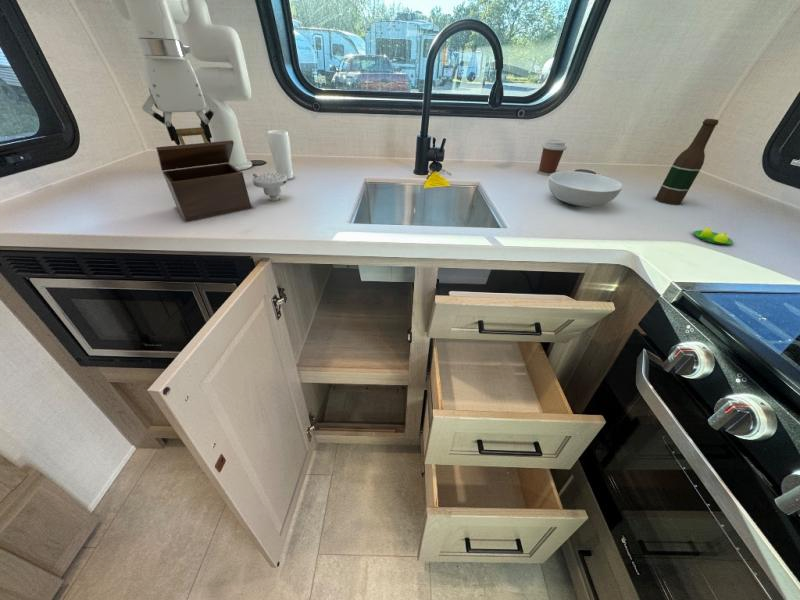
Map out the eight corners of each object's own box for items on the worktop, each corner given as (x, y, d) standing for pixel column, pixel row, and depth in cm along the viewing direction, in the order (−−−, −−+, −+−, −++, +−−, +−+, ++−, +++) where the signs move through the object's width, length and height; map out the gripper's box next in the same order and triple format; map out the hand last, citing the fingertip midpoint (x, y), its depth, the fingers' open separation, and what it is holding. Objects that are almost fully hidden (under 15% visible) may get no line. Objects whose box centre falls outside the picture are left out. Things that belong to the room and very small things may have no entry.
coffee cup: (562, 174, 129) (573, 142, 122) (549, 177, 125) (559, 144, 118) (543, 169, 135) (552, 138, 128) (530, 171, 131) (538, 139, 124)
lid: (234, 143, 80) (225, 122, 79) (157, 150, 71) (147, 127, 70) (229, 162, 91) (221, 144, 90) (162, 170, 82) (153, 150, 81)
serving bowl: (529, 194, 106) (535, 173, 102) (574, 188, 113) (582, 168, 109) (579, 217, 91) (588, 193, 87) (628, 209, 98) (638, 186, 94)
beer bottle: (673, 206, 101) (721, 121, 87) (649, 198, 107) (690, 117, 93) (686, 203, 104) (734, 120, 90) (662, 195, 110) (703, 117, 96)
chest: (251, 208, 90) (242, 172, 84) (186, 221, 81) (170, 182, 75) (238, 196, 97) (228, 162, 91) (176, 207, 88) (162, 171, 82)
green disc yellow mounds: (698, 242, 80) (705, 232, 78) (688, 230, 86) (694, 220, 84) (737, 248, 78) (745, 238, 76) (723, 235, 84) (730, 225, 82)
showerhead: (261, 169, 96) (291, 172, 94) (266, 193, 100) (295, 196, 99) (243, 177, 88) (275, 180, 87) (249, 203, 93) (280, 206, 91)
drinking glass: (299, 177, 115) (292, 131, 106) (286, 182, 110) (278, 134, 101) (284, 174, 117) (276, 129, 108) (271, 179, 112) (262, 132, 103)
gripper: (202, 53, 74) (225, 137, 85) (111, 48, 65) (150, 143, 76) (211, 52, 70) (234, 142, 81) (114, 48, 61) (154, 149, 71)
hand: (193, 142), depth 78 cm, fingers closed on lid, 6 cm apart
